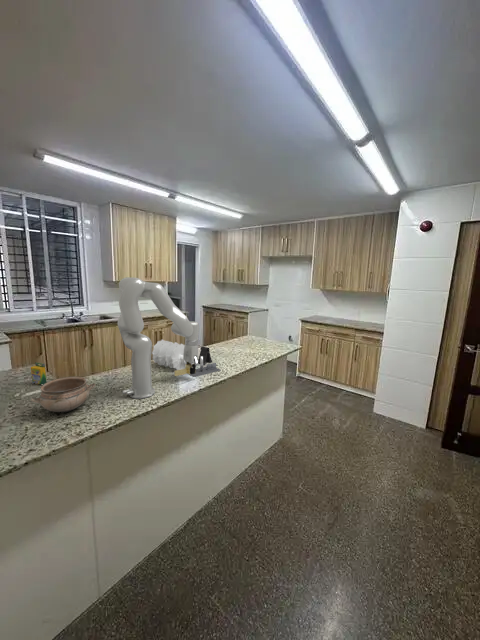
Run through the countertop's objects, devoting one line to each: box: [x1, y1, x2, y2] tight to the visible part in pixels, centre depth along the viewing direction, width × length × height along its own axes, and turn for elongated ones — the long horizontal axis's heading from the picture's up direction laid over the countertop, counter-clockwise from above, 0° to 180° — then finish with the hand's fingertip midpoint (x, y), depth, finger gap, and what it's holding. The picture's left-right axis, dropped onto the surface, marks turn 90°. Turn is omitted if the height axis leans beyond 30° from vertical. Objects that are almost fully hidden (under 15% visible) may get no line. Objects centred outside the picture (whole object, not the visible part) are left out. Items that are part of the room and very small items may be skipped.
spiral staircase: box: [151, 338, 186, 370], centre depth 180 cm, size 18×18×25 cm
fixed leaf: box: [199, 356, 218, 372], centre depth 177 cm, size 12×3×10 cm, turn 130°
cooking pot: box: [30, 376, 96, 414], centre depth 122 cm, size 25×19×12 cm
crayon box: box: [30, 362, 48, 385], centre depth 149 cm, size 7×3×12 cm, turn 73°
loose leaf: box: [173, 363, 196, 377], centre depth 158 cm, size 12×4×5 cm, turn 130°
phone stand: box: [198, 345, 213, 366], centre depth 190 cm, size 9×6×12 cm, turn 143°
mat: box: [188, 365, 222, 378], centre depth 175 cm, size 21×12×1 cm, turn 130°
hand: (190, 372), depth 161 cm, fingers closed on loose leaf, 4 cm apart
